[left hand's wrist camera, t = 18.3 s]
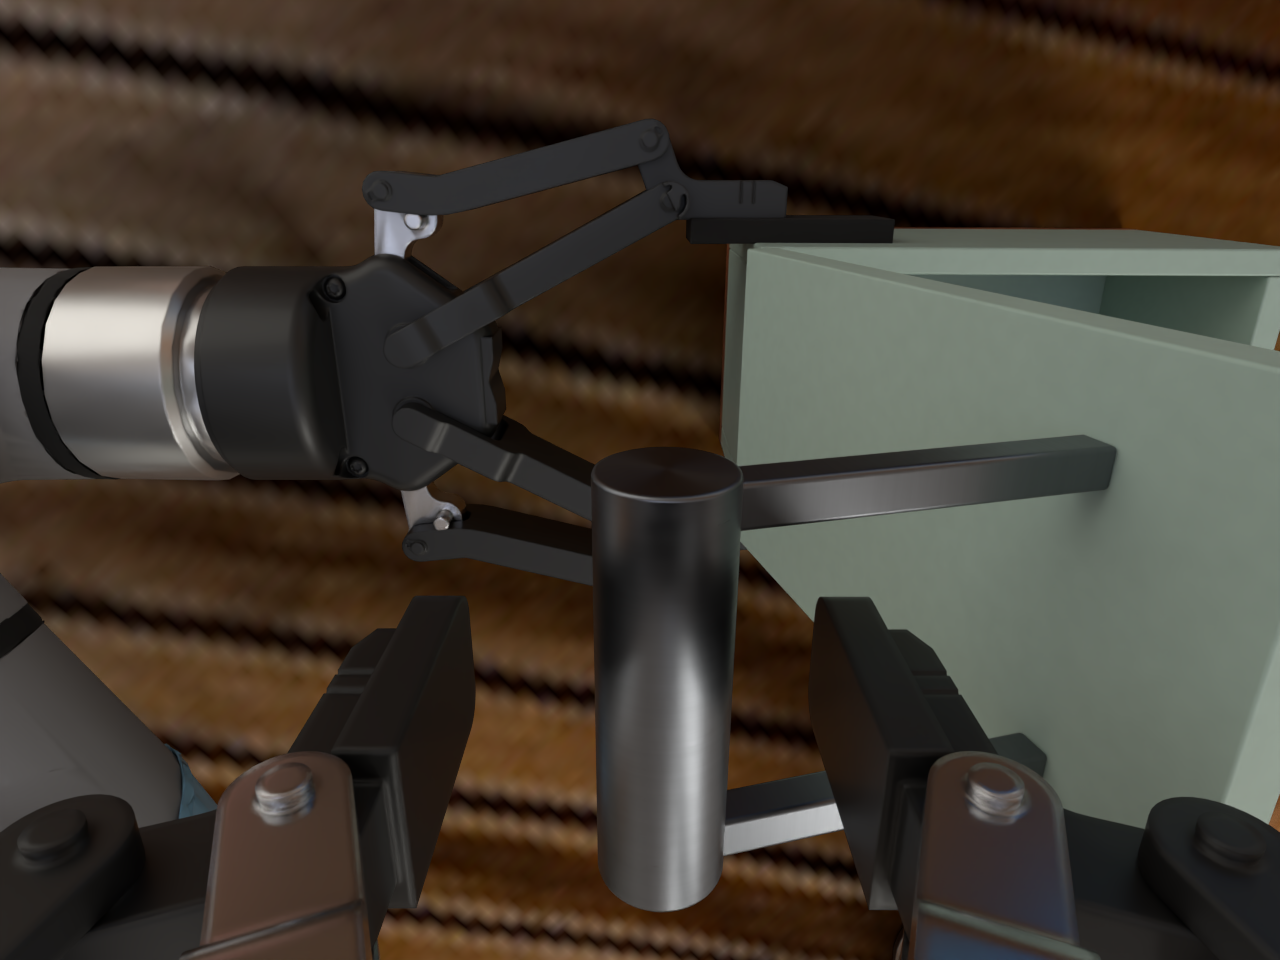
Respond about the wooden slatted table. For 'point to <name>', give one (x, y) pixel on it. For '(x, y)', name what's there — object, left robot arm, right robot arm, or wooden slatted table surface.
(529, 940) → the wooden slatted table surface
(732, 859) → the wooden slatted table surface
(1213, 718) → the lid
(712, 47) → the wooden slatted table surface
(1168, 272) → the chest
